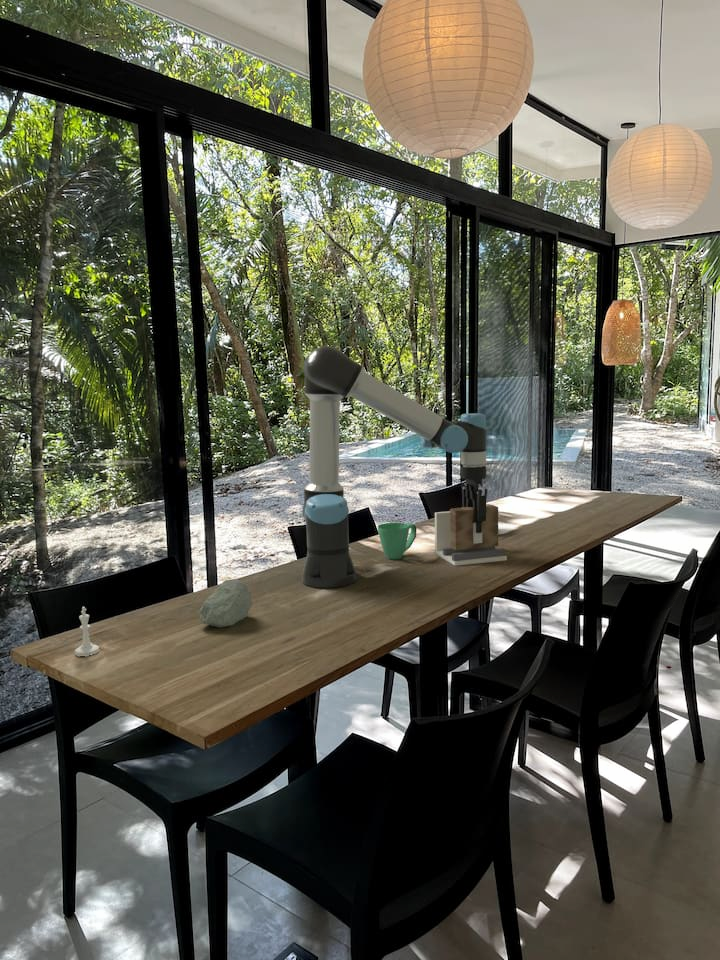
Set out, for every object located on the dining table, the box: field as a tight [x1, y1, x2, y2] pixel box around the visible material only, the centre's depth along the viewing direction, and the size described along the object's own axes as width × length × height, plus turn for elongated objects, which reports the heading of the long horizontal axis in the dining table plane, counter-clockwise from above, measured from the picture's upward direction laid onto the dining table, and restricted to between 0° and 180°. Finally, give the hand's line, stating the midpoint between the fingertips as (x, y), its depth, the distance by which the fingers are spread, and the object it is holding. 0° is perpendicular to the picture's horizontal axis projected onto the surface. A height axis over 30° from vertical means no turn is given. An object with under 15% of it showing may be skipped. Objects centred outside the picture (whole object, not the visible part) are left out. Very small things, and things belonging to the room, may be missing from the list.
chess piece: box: [74, 606, 100, 657], centre depth 151 cm, size 5×5×10 cm
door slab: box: [449, 504, 499, 550], centre depth 217 cm, size 14×4×12 cm, turn 106°
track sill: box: [434, 510, 508, 567], centre depth 220 cm, size 17×16×13 cm
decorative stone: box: [198, 578, 253, 629], centre depth 168 cm, size 13×11×10 cm
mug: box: [377, 522, 417, 560], centre depth 223 cm, size 15×10×10 cm
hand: (474, 541), depth 217 cm, fingers closed on door slab, 4 cm apart
